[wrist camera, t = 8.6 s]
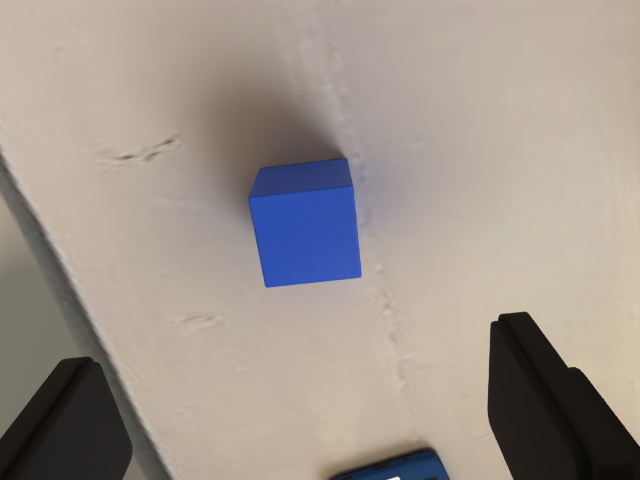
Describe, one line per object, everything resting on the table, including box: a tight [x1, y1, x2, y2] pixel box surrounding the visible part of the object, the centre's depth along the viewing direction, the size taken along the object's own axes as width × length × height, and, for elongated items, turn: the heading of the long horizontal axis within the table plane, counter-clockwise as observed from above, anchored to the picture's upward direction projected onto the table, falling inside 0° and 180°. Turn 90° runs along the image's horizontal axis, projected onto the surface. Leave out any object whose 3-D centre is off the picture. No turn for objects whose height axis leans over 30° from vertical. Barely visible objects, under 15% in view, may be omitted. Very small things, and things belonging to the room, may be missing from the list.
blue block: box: [248, 158, 362, 288], centre depth 20 cm, size 4×4×4 cm
